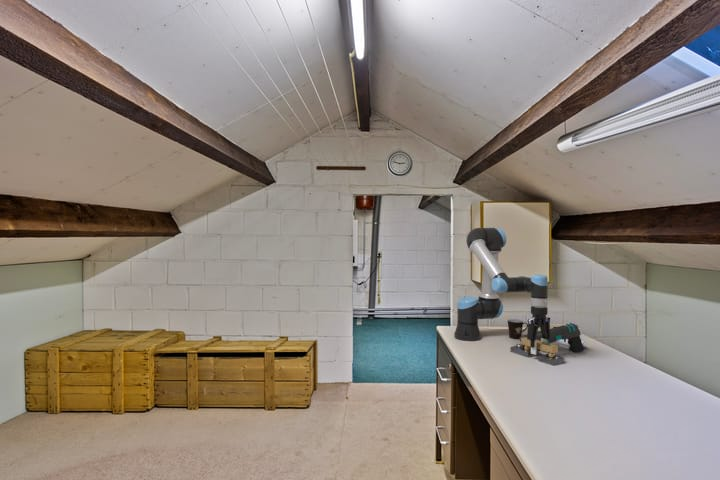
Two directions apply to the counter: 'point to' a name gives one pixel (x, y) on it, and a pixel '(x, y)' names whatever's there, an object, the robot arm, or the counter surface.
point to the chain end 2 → (551, 359)
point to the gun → (564, 336)
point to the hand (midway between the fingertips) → (538, 352)
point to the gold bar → (540, 346)
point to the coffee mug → (515, 328)
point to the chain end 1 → (522, 351)
